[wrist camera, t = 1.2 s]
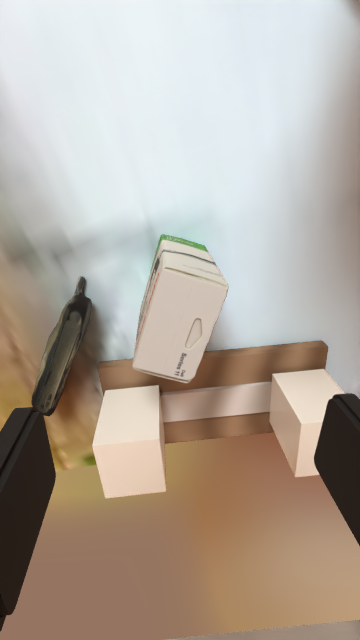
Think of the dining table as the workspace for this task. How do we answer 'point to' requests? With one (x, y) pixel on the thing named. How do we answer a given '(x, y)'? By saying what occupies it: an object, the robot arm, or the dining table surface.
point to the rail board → (219, 389)
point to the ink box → (178, 310)
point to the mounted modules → (149, 441)
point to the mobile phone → (61, 351)
